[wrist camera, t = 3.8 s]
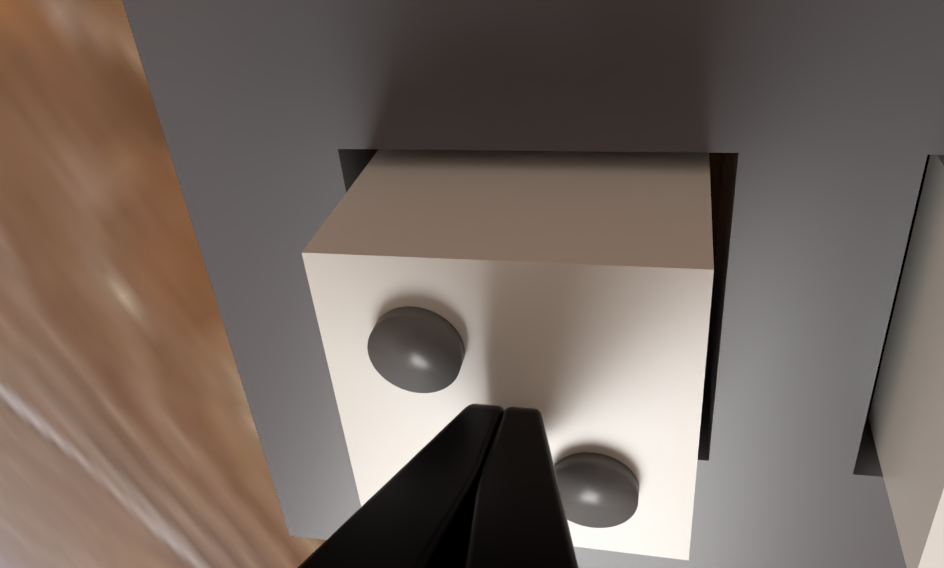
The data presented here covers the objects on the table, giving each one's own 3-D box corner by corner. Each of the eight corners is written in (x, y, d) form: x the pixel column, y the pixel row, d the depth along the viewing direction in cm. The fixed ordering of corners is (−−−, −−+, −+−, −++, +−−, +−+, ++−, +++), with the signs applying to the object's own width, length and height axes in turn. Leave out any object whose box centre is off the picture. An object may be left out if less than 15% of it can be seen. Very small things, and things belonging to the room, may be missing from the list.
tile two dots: (708, 145, 10) (715, 280, 8) (689, 403, 13) (688, 573, 10) (383, 141, 11) (295, 261, 9) (421, 382, 14) (359, 531, 11)
